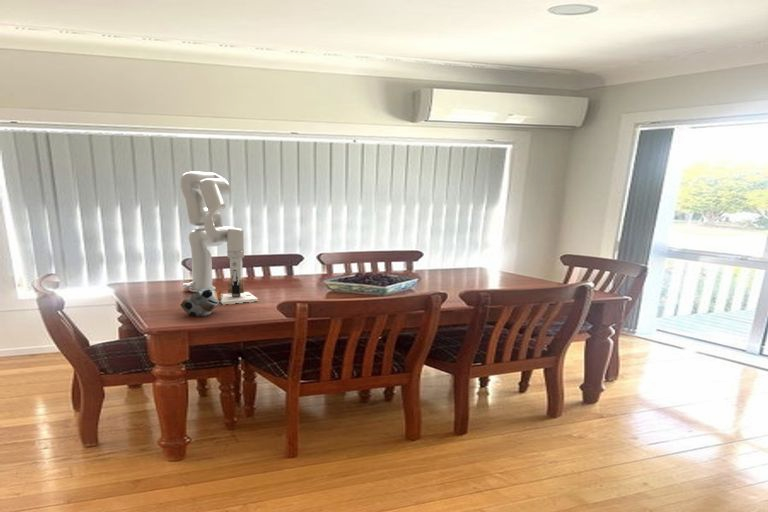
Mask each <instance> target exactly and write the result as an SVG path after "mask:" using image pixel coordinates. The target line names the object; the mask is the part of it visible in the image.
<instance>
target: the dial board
mask: <svg viewBox="0 0 768 512" xmlns="http://www.w3.org/2000/svg"><path fill="white" fill-rule="evenodd" d="M240 294H241V296H239V297H232V293H222V295H223V297H222V300H221V301H220V302H221V303H222V304H223V305H222V304H221V303H220V302H219V303H220V304H221V305H222V306H226V305H225V304H229V305H235V303H239V304H244V303H243V302H249V303H255V302H254V301H258V297H256V296H255V295H253V294H252V293H251V292H249V291H244V293H240Z"/></svg>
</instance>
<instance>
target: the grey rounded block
mask: <svg viewBox="0 0 768 512" xmlns="http://www.w3.org/2000/svg"><path fill="white" fill-rule="evenodd" d="M222 294H223V291H217V290H216V289H215V290H214V289H211V288H207V289H206V288H205V289H201V290H198V291H197V292H195V294H193V295H191V296H189V297H186V298H184V299H183V301H181V303H180V307H181V308H182V309H183V311H184V312H185V313H186V314H189V315H191V316H192V315H193V316H194V317H195V318H202V317H208V316H209V315H211V314H212V312H213V310H215V309H216V307H217V306H218V304H220V301H221V300H222V297H223V295H222ZM207 315H208V316H207ZM201 316H202V317H201Z"/></svg>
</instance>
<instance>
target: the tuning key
mask: <svg viewBox="0 0 768 512" xmlns="http://www.w3.org/2000/svg"><path fill="white" fill-rule="evenodd" d="M244 292H245V282H240V283H239V293H232V282H227V294H229V293H232V297H239V296H241V294H240V293H244Z"/></svg>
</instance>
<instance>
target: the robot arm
mask: <svg viewBox="0 0 768 512" xmlns="http://www.w3.org/2000/svg"><path fill="white" fill-rule="evenodd" d="M180 190H181V193H182V195H183V197H184V200H185V204H186V209H187V216H188V217H187V218H188V221H189V224H190V225H191V226H192V227H204V228H196V229H193V230H191V231H190V233H189V234H188V240H189V245H190V251H191V275H192V276H191V277H192V278H191V279H192V280H191V281H190V282H188V283H187V282H185V283H182V288H189V291H190V292H193V293H197V291H198V290H201V289H205V288H206V289H207V288H211V289H214V290H215V291H216V286H214V285H213V268H212V267H213V263H212V262H213V261H212V260H213V259H212V257H213V256H212V253H211V252H210V250H209V249H208V248H210V247H218V246H222V245H223V244H224V243H226V250H227V251H226V256H227V258H228V259H229V275H230V279H231V280H232V282H231V283H232V293H239V283H241V281H240V280H242V278H243V276H244V271H243V270H244V269H243V258H244V257H245V250H244V249H245V246H244V245H245V244H244V240H245V239H244V238H245V237H244V229H243V228H241V227H234V226H232V225H231V226H227V225H226V226H223V220H222V215H221V212H222V211H223V210H225V209H226V203H225V200H224V198H223V196H227V195H228V194H230V191H231V185H230V183H229V182H228V180H227V179H226V178H224V177H222V176H221V175H219V174H217V173H215V172H209V171H206V172H205V171H187V172H185V173H183V174H182V175H181V177H180ZM198 190H200V192H199V191H198ZM201 194H202V195H201Z"/></svg>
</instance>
